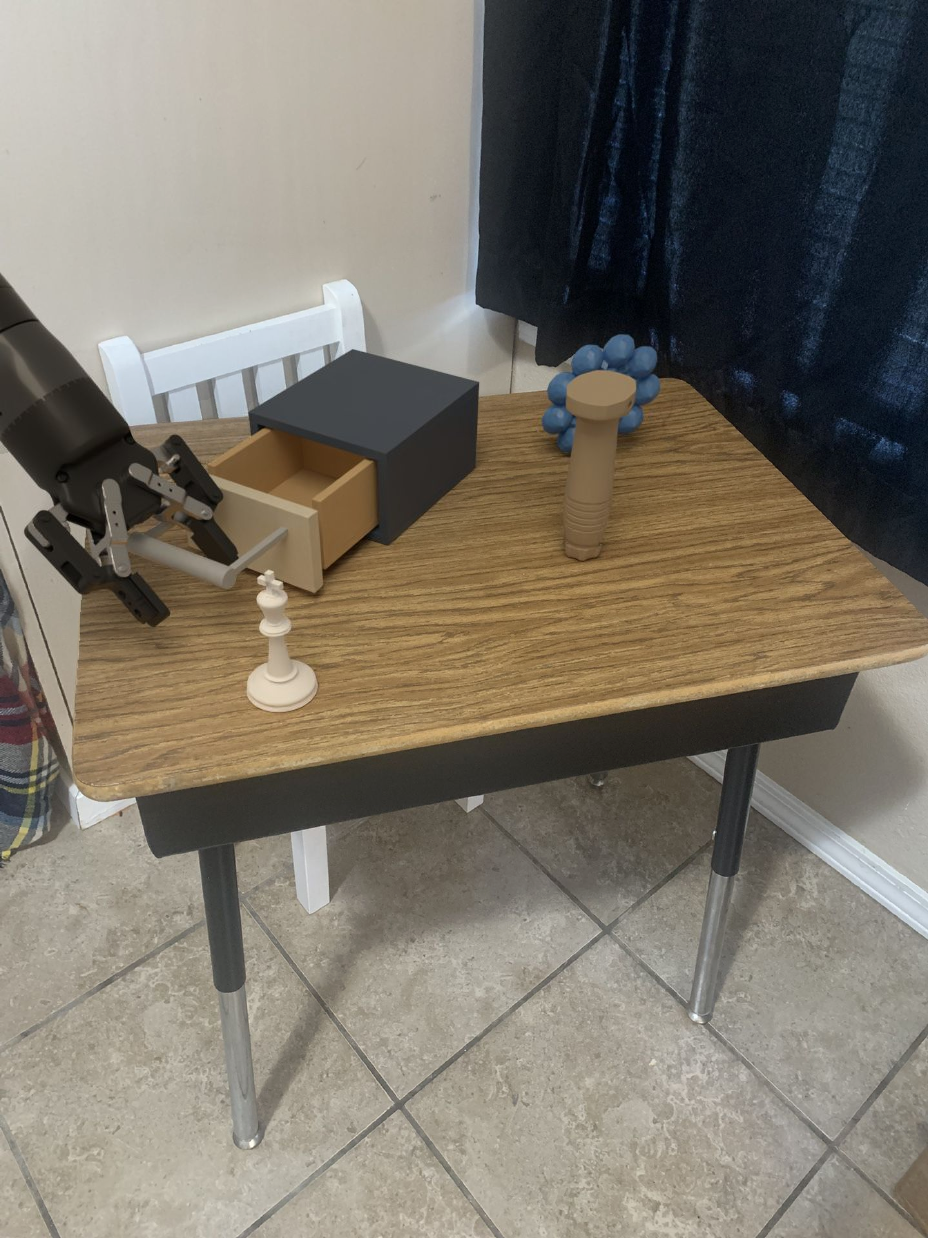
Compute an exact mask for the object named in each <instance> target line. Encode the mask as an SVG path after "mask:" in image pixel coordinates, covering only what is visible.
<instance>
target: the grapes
mask: <svg viewBox="0 0 928 1238" xmlns="http://www.w3.org/2000/svg"><path fill="white" fill-rule="evenodd" d="M657 363H658V353H657V351H656V349H654V348H653V347H652V346H649V345H643V346H639V347H637V348H636V347H635V340H634V338H633V337H632V336H631V335H629V334H623V333H621V334H620V333H619V334H617V335H615V336H612V337H611V338H610V339H609V340H608V341H607V342H606V343H605V345H604V347H603V349H602V348H601V347H600V346H598V344H586V345H584V346H582V347H580V348H579V349H578V350H577V351H576V352H575V353H574V354H573V356H572V359H571V361H570V366H571V372H569V371H562V372H559V373H557V374H556V375H555V376H554V377H553V378H552V379H551V380H550V381H549V383H548V385H547V389H546V392H547V393H546V394H547V398H548V400H549V401H550V402H551V403H552V404H551V405H550V406H549V407H548V408H547V409H546V410H545V411H544V413H543V414H542V418H541V424H542V429H543V430H544V432H546V433H547V434H549V435H557V437H556V444H557V448H558V449H559V450H560V451H561V452H562V453H566V454H571V452H572V445H573V439H574V433H575V427H576V419H577V417H575V416H574V415H572V414H571V413H570V412H569V411H567V410H566V393H567V386H568V384H569V383H570V382H571V381H572V380H573V379H575V378H576V377H577V376H579V375H582V374H585V373H588V372H592V371H596V370H606V371H613V372H617V373H621V374H624V375H627V376H629V377H631V378H633V379H634V380H635V381H636V394H635V401H634V404H633V406H632V408H631V411H630V412H629V414H628V415H626V416H624V417H622V418H620V419H619V425H618V433H617V435H624V436H625V435H629V434H632V433H634V432H635V431H637V430H638V428H640V426H642V423H643V421H644V409H643V407H642V406H646V405H649V404H651V403H652V402H653V401H654V400H655V399H657V397H658V396H659V393H660V391H661V381H660V378H659V377H658V376H657V375H656V374H653V373H652V372H653V371H654V370H655V368H656V366H657Z"/></svg>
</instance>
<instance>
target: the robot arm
mask: <svg viewBox="0 0 928 1238" xmlns="http://www.w3.org/2000/svg"><path fill="white" fill-rule="evenodd" d="M0 443H1V444H2V445H3V447H5V449H6V450H7V451H8V452H9V454H10V455H11V456H12V457H13V458H14V459H15V461H16V462H17V463H18V464H19V466H20V467H21V468H22V469H23V470H24V471H25V472H26V474H27V475H28V476H29V477H30V478H31V480H32V481H33V482H34V483H35V484H36V486H37V487H38V488H39V489H41V490H43V491H45V492H46V493H47V494H49V495H50V498H51V501H52V503H53V506H52V507H51V508H49V509H48V510H47V509H42V510H39V511H38V512H37V513H36V514H35V515H34V516H33V518H32V519H31V520H30V521H29V522H28V524H27V525H26V526H25V527H24V529H23V534H24V536H25V538H26V539H27V540H28V541H29V542H30V543H31V544H32V545H33V547H35V549H37V550H38V552H39V553H40V554H41V555H42V556H43V557H44V558H45V559H46V560H47V561H48V562H49V564H50V565H51V566H52V567H53V568H54V569H55V570H56V571H57V572H58V573H59V574H60V575H61V576H62V577H63V579H65V581H66V582H67V583H68V584H69V585H70V586H71V587H72V588H73V589H74V590H75V592H77V593H78V594H79V595H82V596H88V595H90V594H91V593H92V592H97V591H101V590H107V591H109V592H112V593H113V595H115V596H116V597H117V599H118V600H119V601H120V602H121V604H122V605H123V606H124V608H126V609H127V610H128V612H129V613H130V614H131V615H132V616H133V618H134V619H135V620H136V621H137V622H139V623H141V624H142V625H146V624H147V625H148V626H149V627H151V628H156V627H157V626H159V625H161V623H162V622H164V621H165V620H166V619H168V618H169V617H170V616H171V610H170V609H169V607H167V605H166V604H165V603H164V601H163V600H162V599H161V598H160V597H159V596H158V594H157V593H156V592H155V591H154V589H153V588H152V587H151V586H150V585H149V584H148V583H147V581H146V580H145V579H144V578H143V576H142V575H141V574H140V573H139V572H138V571H135V572H134V573H132V565H131V560H130V556H129V551H128V550H127V543H128V536H129V534H128V532H129V531H130V530H132V528H134V527H135V526H137V525H140V524H143V523H145V522H147V521H148V520H149V519H151V518H152V519H154V520H156V521H158V522H159V523H161V522H171V523H173V524H175V525H176V526H177V527H179V528H181V529H183V530H185V531H186V530H187V531H189V532H193V533H194V535H193V536H191V537H190V538H191V539H192V540H193V541H194V543H195V544H196V545H197V546H198V547H199V549H200V550H199V551H200V552H201V553H202V554H203V556H204V557H205V558H208V559H211V560H213V561H216V562H219V563H221V564H224V565H227V566H230V565H231V564H233V563H234V562H235V561H236V560H238V559H239V557H238V556H237V554H238V551H237V548H236V546H235V545H234V544H233V543H232V541H230V539H229V538H228V537H227V535H226V534H225V533H224V532H223V530H222V529H221V528H220V527H219V525H218V524H217V523H216V522H215V520H214V517H213V513H214V510H215V509H216V507H217V505H218V503H220V502H221V501H222V500H223V493H222V491H221V490H220V489H219V487H218V486H217V485H216V483H215V482H214V481H213V479H212V478H211V477H210V475H209V474H208V470H206V468H205V467H204V466H203V465H202V463H201V461H200V460H199V458H198V457H197V456H196V455H195V454H194V453H193V451H192V449H191V448H190V447H189V445H188V444H187V443H186V441H185V440H184V439H183V438H182V437H181V436H180V435H178V434H171V435H170V436H169V437H168V438H166V440H164V442H163V443H161V444H160V445H157V446H156V447H154V448H152V449H148V448H147V447H145V446H143V445H142V444H140V443H139V442H138V441H137V440H136V439H135V438H134V436H133V433H132V431H131V428H130V424H129V423H128V422H127V420H126V419H125V418H124V417H123V415H122V414H121V413H120V412H119V411H118V409H117V408H116V407H115V405H114V404H113V403H112V401H110V399H109V398H108V396H106V395H105V393H104V392H103V391H102V390H101V388H100V387H99V386H98V384H96V382H95V381H94V379H93V378H92V377H91V376H90V375H89V374H88V373H87V371H86V370H85V369H84V367H83V366H82V364H81V363H79V361H78V360H77V359H76V357H75V356H74V355H73V354H72V353H71V352H70V350H69V349H68V348H67V347H66V346H65V345H64V344H63V343H62V342H61V340H60V339H58V338H57V337H56V336H55V335H54V334H53V333H52V332H51V331H50V330H49V329H48V328H47V327H46V326H45V325H44V324H43V322H42V321H41V320H40V319H39V317H37V315H36V314H35V313H34V312H33V310H32V309H31V308H30V307H29V305H28V304H27V303H26V302H25V301H24V299H23V298H22V296H20V294H19V293H18V292H17V291H16V288H14V287H13V285H12V284H11V283H10V282H9V281H8V279H6V277H5V276H4V275H3V274H2V272H0ZM159 471H160V473H162V474H163V475H164V474H167V475H168V476H169V477H170V478H171V480H172V481H173V482H171V481H169V480H167V479H165V478H163V477H161V476H160V473H159ZM162 500H163V501H162ZM70 523H71V524H74V525H76V526H79V527H81V528H85V529H86V533H87V537H88V544H89V548H90V552H91V554H90V553H89V552H88V551H87V550H86V548H85V547H83V546H82V544H81V543H80V542H79V541H78V540H77V539H76V538H75V537H74V536H73V534H71V530H72V529H71V526H70ZM187 531H186V532H187Z"/></svg>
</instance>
